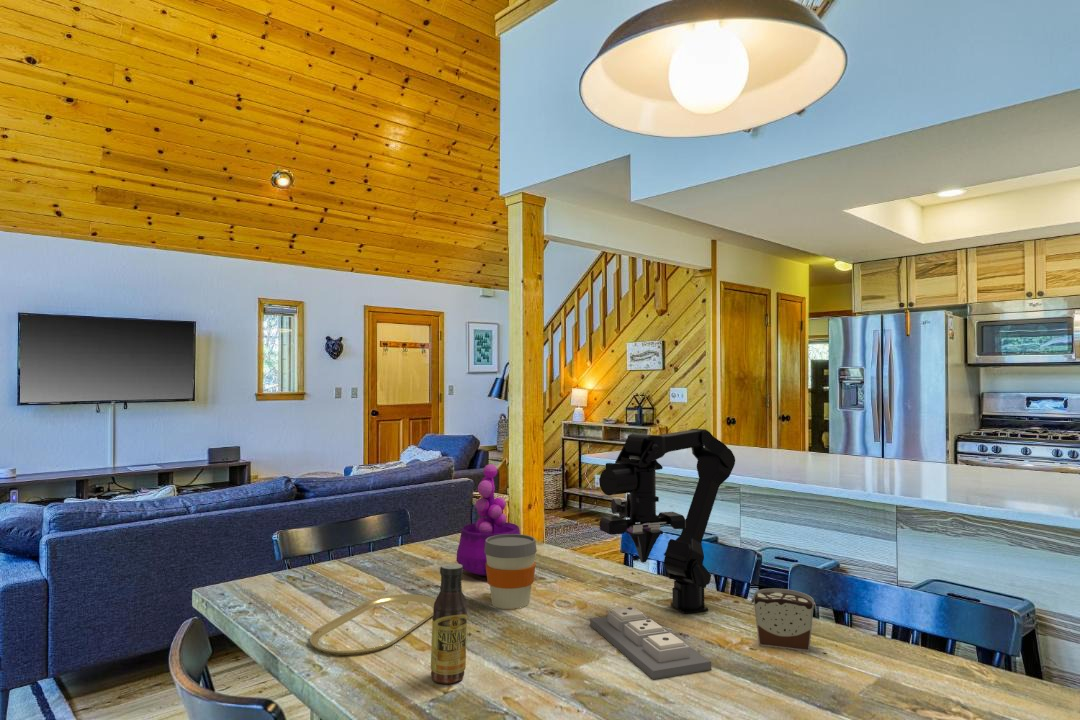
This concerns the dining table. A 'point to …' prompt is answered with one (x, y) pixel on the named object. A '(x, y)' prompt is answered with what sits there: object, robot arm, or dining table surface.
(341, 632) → the dining table surface
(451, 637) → the sauce bottle
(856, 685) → the dining table surface
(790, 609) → the food container
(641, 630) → the tile three dots
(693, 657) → the button panel
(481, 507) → the decorative plant
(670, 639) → the tile one dot
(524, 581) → the reusable coffee cup
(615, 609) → the tile two dots
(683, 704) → the dining table surface
